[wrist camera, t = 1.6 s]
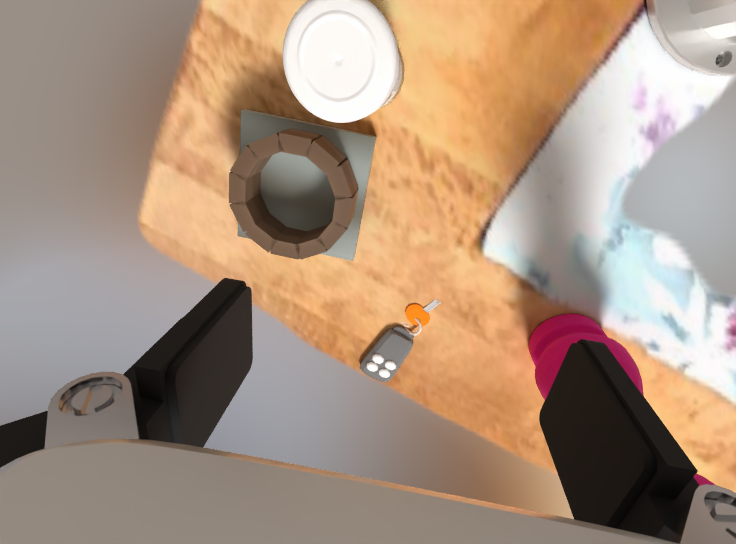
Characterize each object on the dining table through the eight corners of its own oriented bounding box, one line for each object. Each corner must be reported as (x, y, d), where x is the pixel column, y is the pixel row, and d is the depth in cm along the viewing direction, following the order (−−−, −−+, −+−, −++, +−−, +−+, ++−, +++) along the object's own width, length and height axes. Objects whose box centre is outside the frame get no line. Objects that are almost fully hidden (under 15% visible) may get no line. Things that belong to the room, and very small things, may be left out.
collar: (246, 109, 29) (222, 111, 25) (376, 136, 28) (370, 142, 25) (242, 232, 33) (221, 249, 29) (354, 256, 33) (347, 276, 29)
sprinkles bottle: (340, 107, 28) (282, 120, 16) (341, 34, 26) (274, -15, 14) (403, 110, 27) (392, 126, 15) (408, 36, 25) (401, -12, 13)
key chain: (390, 378, 39) (389, 388, 37) (358, 362, 38) (356, 372, 37) (464, 282, 33) (466, 290, 32) (427, 262, 33) (428, 269, 31)
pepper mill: (510, 364, 36) (605, 640, 18) (541, 299, 32) (694, 557, 15) (586, 381, 36) (758, 677, 18) (624, 318, 32) (881, 602, 14)
